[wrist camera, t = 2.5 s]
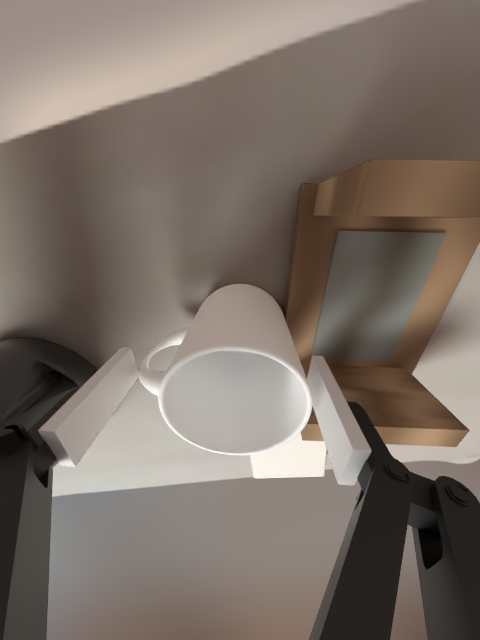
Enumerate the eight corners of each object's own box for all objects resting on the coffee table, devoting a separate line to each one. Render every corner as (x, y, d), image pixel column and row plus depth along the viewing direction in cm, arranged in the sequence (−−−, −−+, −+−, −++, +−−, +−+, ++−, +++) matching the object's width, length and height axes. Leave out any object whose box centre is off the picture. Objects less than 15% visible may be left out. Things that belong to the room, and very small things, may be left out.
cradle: (276, 370, 24) (290, 439, 16) (300, 185, 16) (347, 158, 8) (400, 375, 23) (469, 447, 16) (489, 188, 15) (711, 163, 8)
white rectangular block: (252, 459, 32) (253, 479, 29) (242, 393, 25) (241, 411, 23) (319, 457, 31) (324, 477, 29) (324, 388, 25) (332, 406, 22)
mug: (156, 286, 20) (70, 353, 10) (283, 277, 19) (320, 341, 9) (176, 359, 23) (127, 457, 14) (282, 354, 23) (307, 455, 13)
